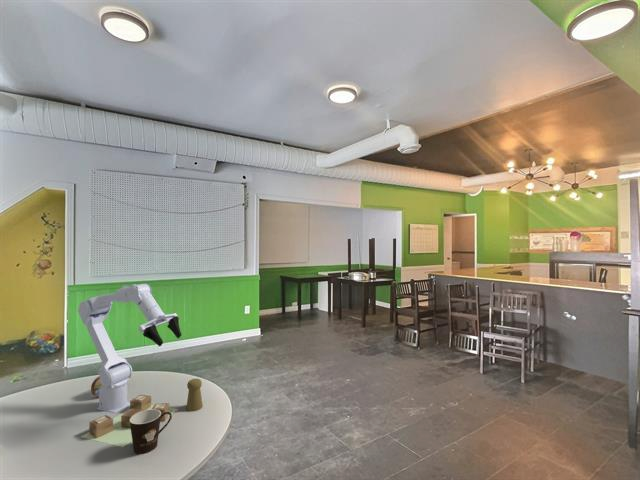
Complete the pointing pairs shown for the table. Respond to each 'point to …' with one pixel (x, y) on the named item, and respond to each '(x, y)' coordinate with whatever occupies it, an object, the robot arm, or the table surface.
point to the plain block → (128, 417)
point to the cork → (194, 395)
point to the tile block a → (101, 426)
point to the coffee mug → (146, 430)
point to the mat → (118, 432)
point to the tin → (96, 386)
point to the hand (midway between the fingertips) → (170, 340)
